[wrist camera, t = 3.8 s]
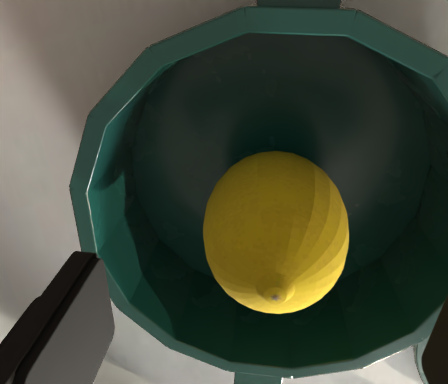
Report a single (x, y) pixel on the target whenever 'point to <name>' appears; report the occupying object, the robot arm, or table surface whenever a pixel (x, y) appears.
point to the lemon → (276, 232)
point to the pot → (264, 142)
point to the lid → (418, 354)
